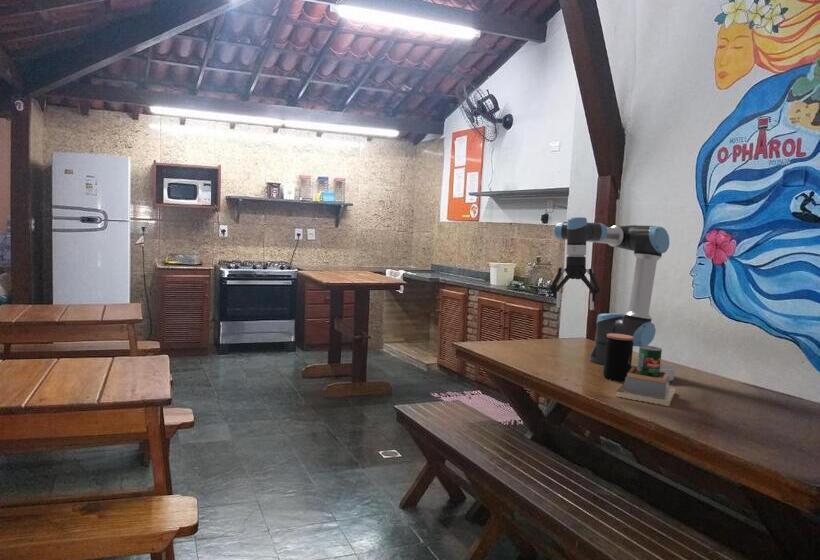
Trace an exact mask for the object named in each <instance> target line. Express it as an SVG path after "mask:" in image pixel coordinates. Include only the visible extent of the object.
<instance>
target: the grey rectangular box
mask: <svg viewBox="0 0 820 560" xmlns="http://www.w3.org/2000/svg"><path fill="white" fill-rule="evenodd" d="M670 382H671V381H670V377H669V373H668V372H661V371H659V377H653V376H646V375H640V374H637V368H636V367H632V368H631V369H630V371H629V372H628V373H627V376H626V377H625V381H623V383H622V384H621V386H620V387H619V388H618V389H617V390H616V394H615V397H616V396H618V397H617V398H620V397H622V398H621V399H626V398H627V399H628V400H631V399H632V400H633V401H636V400H638V401H639V402H642V401H644V402H643V403H647V402H649V403H648V404H653V403H654V404H655V405H658V404H660V406H663V407H670V405H671V403H672V400H673V398H674V396H675V394H676V388H675V387H671V386H670ZM627 399H626V400H627ZM638 401H637V402H638ZM654 404H653V405H654Z"/></svg>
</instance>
